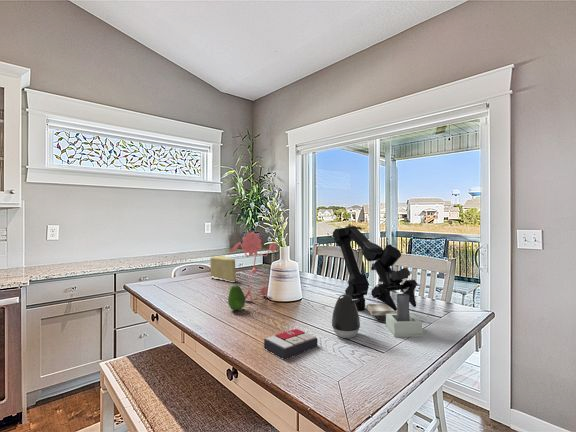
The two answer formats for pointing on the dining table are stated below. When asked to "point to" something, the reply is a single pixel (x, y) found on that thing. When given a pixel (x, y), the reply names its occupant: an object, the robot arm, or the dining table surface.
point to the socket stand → (404, 326)
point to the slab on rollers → (380, 310)
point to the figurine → (251, 246)
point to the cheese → (223, 268)
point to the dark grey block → (402, 307)
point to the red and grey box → (290, 343)
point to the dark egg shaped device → (346, 317)
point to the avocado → (236, 298)
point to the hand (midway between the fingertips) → (405, 308)
